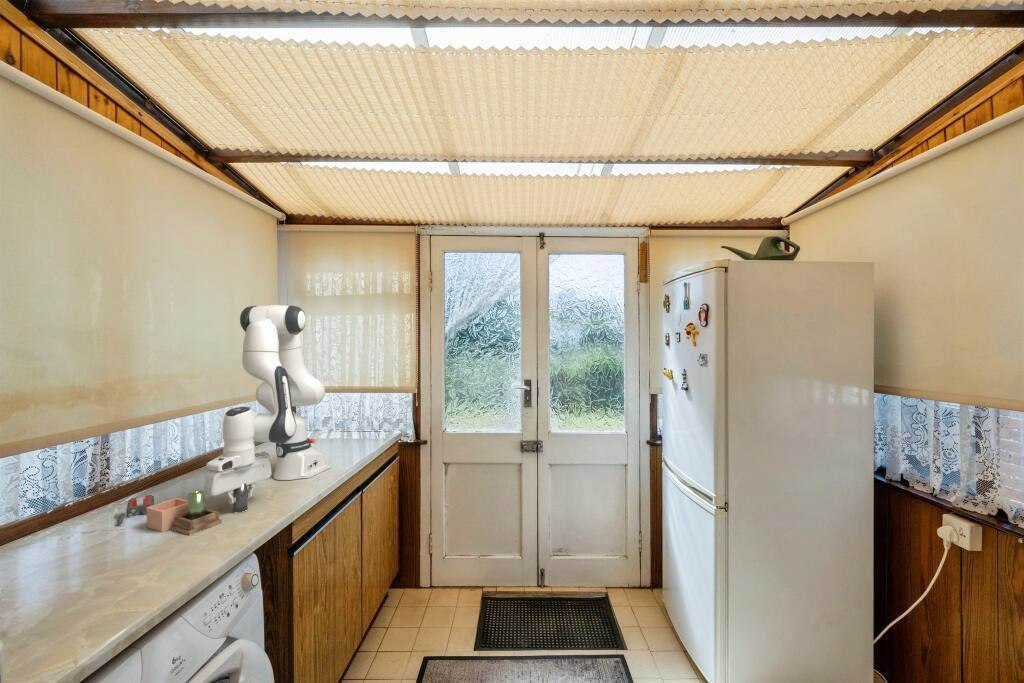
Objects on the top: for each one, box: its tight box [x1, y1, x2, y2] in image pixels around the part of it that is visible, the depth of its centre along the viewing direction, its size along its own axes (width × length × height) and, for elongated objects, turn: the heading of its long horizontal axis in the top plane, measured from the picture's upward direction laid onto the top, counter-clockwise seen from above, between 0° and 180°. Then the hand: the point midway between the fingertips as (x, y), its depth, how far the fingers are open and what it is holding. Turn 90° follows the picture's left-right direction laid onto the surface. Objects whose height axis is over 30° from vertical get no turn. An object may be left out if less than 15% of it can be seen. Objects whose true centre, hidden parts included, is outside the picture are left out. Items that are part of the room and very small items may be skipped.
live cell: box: [187, 489, 206, 520], centre depth 133 cm, size 4×4×10 cm
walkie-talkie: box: [117, 494, 155, 525], centre depth 143 cm, size 9×4×20 cm
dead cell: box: [232, 483, 249, 513], centre depth 144 cm, size 4×4×10 cm
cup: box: [146, 497, 188, 533], centre depth 134 cm, size 8×8×6 cm
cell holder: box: [171, 507, 223, 536], centre depth 133 cm, size 9×9×4 cm
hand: (240, 500), depth 144 cm, fingers closed on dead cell, 4 cm apart
